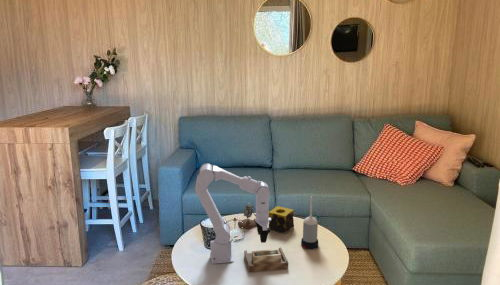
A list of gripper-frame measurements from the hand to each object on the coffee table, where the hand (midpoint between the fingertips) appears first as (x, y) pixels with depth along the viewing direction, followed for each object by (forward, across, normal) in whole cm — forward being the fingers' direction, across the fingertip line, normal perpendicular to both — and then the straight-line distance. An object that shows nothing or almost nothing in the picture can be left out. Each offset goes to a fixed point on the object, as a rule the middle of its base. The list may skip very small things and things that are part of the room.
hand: (261, 238), depth 169 cm
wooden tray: (+9, -5, -1) cm, 11 cm away
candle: (+10, +27, -15) cm, 32 cm away
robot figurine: (+10, +34, +2) cm, 35 cm away
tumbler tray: (+8, -6, -1) cm, 10 cm away
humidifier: (+10, +7, -25) cm, 27 cm away
